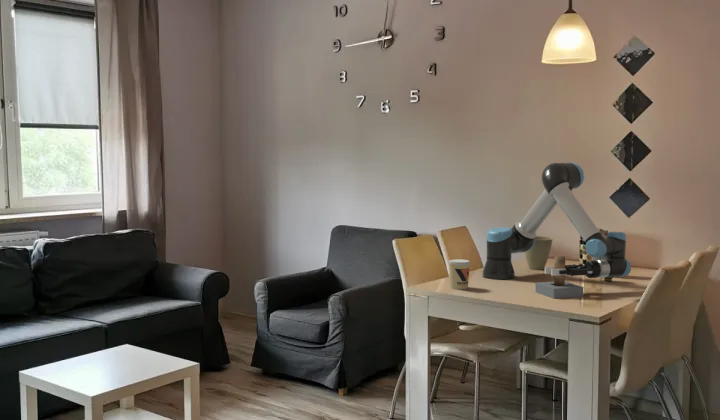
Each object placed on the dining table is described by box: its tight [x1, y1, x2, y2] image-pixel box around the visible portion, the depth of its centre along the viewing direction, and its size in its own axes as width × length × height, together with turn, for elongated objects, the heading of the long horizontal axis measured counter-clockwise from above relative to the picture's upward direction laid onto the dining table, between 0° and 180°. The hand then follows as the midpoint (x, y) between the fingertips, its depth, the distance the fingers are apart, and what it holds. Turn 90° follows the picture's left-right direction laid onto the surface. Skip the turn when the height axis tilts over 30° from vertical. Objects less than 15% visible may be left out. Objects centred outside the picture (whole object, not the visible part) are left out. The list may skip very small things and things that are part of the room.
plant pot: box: [524, 235, 553, 270], centre depth 360 cm, size 15×15×16 cm
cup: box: [603, 277, 615, 283], centre depth 325 cm, size 8×7×8 cm
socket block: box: [535, 281, 584, 299], centre depth 294 cm, size 14×14×4 cm
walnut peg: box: [553, 255, 566, 286], centre depth 294 cm, size 4×4×14 cm
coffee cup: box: [448, 258, 471, 290], centre depth 307 cm, size 9×9×12 cm
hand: (548, 271), depth 292 cm, fingers closed on walnut peg, 4 cm apart
